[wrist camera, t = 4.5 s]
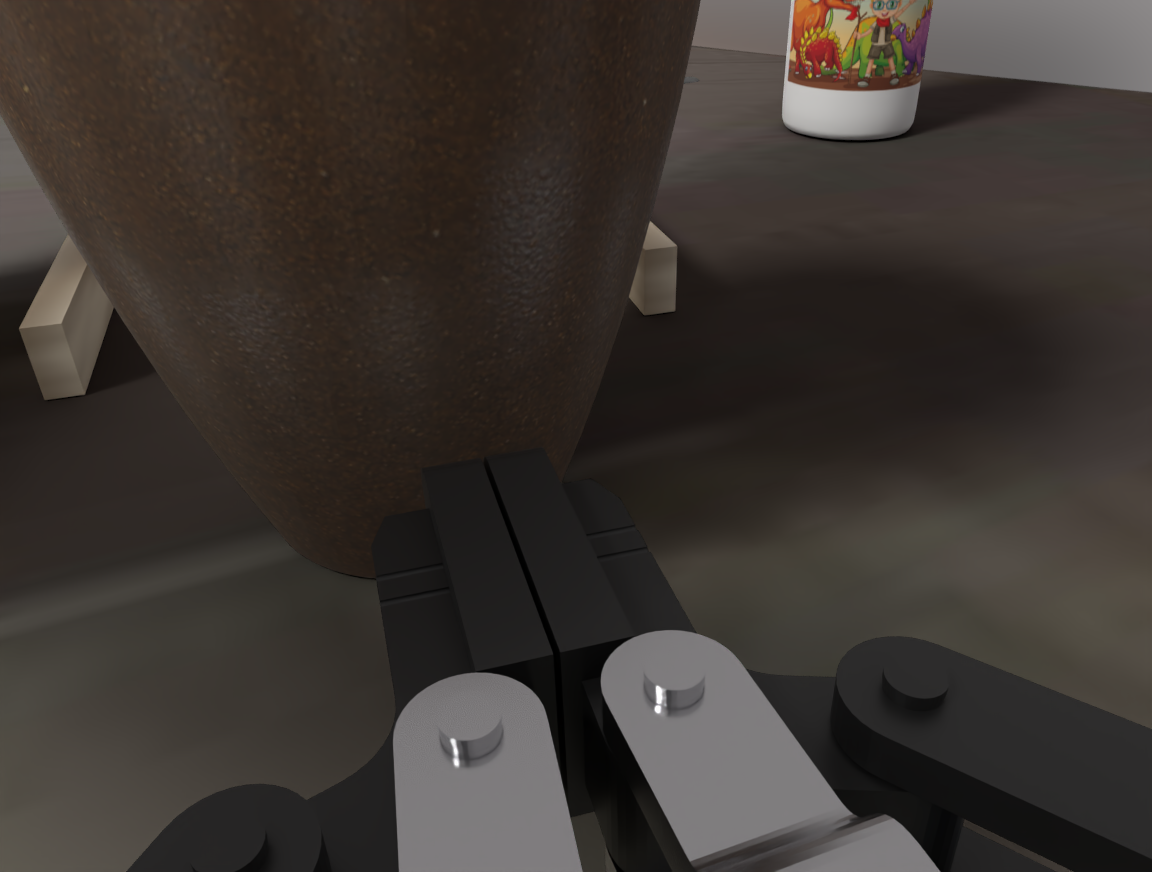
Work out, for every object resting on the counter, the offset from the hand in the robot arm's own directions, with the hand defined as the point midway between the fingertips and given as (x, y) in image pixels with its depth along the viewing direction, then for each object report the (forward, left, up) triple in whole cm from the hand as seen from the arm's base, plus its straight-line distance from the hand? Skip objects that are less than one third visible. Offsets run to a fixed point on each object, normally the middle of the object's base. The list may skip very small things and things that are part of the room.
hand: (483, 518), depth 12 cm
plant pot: (0, +12, -8) cm, 14 cm away
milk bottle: (+30, +43, -8) cm, 53 cm away
